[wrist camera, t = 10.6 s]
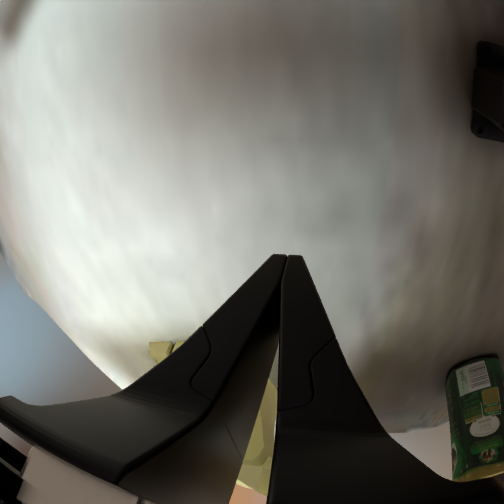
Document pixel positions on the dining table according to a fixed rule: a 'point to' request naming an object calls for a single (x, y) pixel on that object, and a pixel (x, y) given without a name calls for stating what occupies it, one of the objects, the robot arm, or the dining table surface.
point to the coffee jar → (477, 419)
